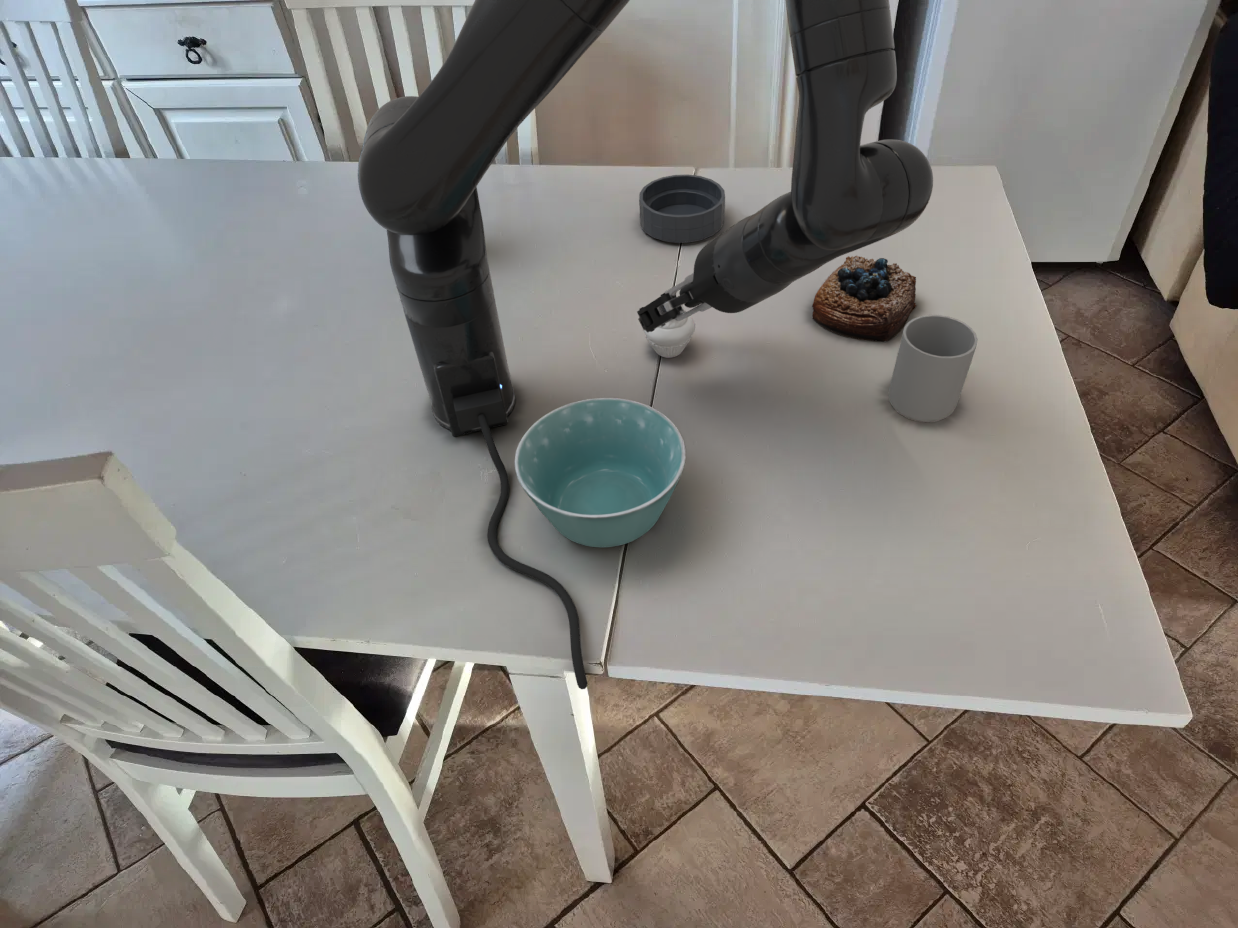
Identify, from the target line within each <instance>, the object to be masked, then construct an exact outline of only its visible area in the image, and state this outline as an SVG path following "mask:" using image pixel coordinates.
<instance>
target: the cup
mask: <svg viewBox="0 0 1238 928" xmlns="http://www.w3.org/2000/svg"><path fill="white" fill-rule="evenodd" d="M978 339H979V338H978V337H977V333H976V332H975V330H973V328H972V327H971V326H970V325H968V324H967V323H965V322H963V321H961V320H959V319H957V318H955V317H951V316H949V315H948V316H947V315H942V314H926V315H925V314H924V315H920V316H916V317H914V318H912V319H910V320H908V321H907V322H906V324H905V326H904V327H903V329H902V335H901V338H900V342H899V347H898V350H897V351H898V352H897V355H896V360H895V362H894V367H893V371H892V375H891V379H890V383H889V388H888V393H887V397H888V401H889V403H890V404H891V407H892V408H893V409H894V410H895V411H896V412H897V413H898V414H899V415H901V416H903V417H904V418H906V419H909V420H911V421H915V422H921V423H933V422H939V421H941V420H944V419H946V418H947V417H949V416H950V415H952V414H953V413H954V411H955V410H956V408H957V405H958V403H959V400H960V397H961V394H962V392H963V388H964V385H965V382H966V379H967V377H968V373H969V371H970V368H971V364H972V362H973V358H974V355H975V352H976V349H977V347H978V341H979V340H978Z"/></svg>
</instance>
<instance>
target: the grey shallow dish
mask: <svg viewBox="0 0 1238 928" xmlns="http://www.w3.org/2000/svg"><path fill="white" fill-rule="evenodd" d="M638 202H639V226H640V228H641V229H642V230H643V232H644V233H645V234H647V235H648V236H649V237H651V238H654V239H657V240H659V241H663V242H667V243H673V244H674V243H675V244H684V243H685V244H686V243H687V244H688V243H694V242H698V241H702V240H705V239H708V238H710V237H713V236H715V234H717V233H718V232H719V231H720V230H721V229H722V228H723V226H724V224H725V214H726V213H725V212H726V211H725V209H726V192H725V189H724V187H723V186H722V185H721V184H720V183H718V182H716V181H715V180H713V179H711V178H708V177H705V176H702V175H696V174H695V175H694V174H673V175H667V176H663V177H659V178H657V179H654V180H652V181H649V182H648V183H647V184H646V185H644V186H643V187H642V189H641V190H640V192H639V196H638Z"/></svg>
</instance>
